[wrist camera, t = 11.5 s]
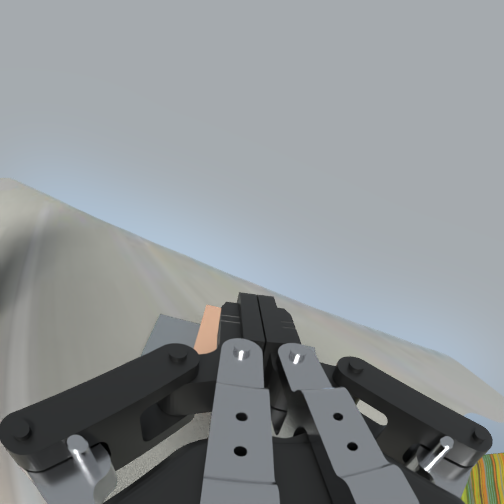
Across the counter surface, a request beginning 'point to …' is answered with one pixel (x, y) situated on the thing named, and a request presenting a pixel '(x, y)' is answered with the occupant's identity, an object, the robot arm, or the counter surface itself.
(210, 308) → the tile
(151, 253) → the counter surface
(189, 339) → the mat
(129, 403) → the robot arm
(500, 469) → the dish towel
